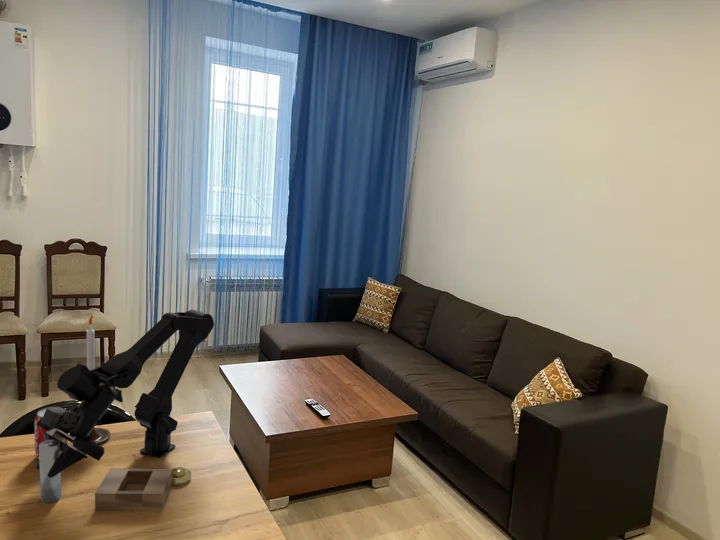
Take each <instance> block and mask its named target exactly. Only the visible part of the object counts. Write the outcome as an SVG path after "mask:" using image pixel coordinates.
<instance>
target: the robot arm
mask: <svg viewBox="0 0 720 540" xmlns="http://www.w3.org/2000/svg"><path fill="white" fill-rule="evenodd" d="M214 327H215V322H214V317H213V316H212V314H209V313H205V312H203V311H199V310H196V309H189V310H187V311H185V312H182V311H177V312H165V313H164V314H163V315H162V316H161V319H159V321H157V323H155V324H154V325H153V326H152V327H151V328H150V329H149V330H148V331H147V332H145V334H144V335H142V337H141V338H140V339H139V340H137V341H136V342H135V343H134V344H133V345H132V346H131V347H130V348H128V349H127V350H125V351H122V352H120V353H117V354H115V355H114V356H112V357H111V358H109V359H108V360H107V361H106V362H104V364H103V365H100V366H98V367H95V369H93V370H89V369H88V367H87V365H85V364H83V363H80V362H78V363H77V364H76V365H75V366H73V367H71V368H68V369H67V370H66V371H64V372H62V373H61V374H60V376H59V378H58V380H57V385H56V386H57V388H58V390H59V391H61V392H63V393H65V394H66V395H69V396H71V397H73V398H74V399H76V400H75V401H78V402H80V403H79V404H78V405H77V406H76V405H72V406H70V407H69V409H68V410H66V409H63V408H62V409H63V410H62V409H53V408H48V407H46V408H47V409H46V411H45V414H44V416H43V417H42V418H41V419H40V420H39V421H38V423H37V424H36V425H37V426H39V427H41V428H43V429H45V430H47V432H44V431H43V434H44V436H45V441H46V440H51V439H56V440H59V441H60V453H61V452H62V453H61V454H60V456H59V457H58V459H57V460H56V462H55V463H54V465H53V466H52V468H51V469H50V471H49V473H48V475H47V476H48V477H50V478H52V477H54V476H55V475H57V474H58V473H60V472H61V473H62V472H63V471H64V470H65V471H66V469H68V468H69V467H70V466H72V465H75V464H77V463H78V462H80V461H82V460H83V459H88V458H89V457H91V458H92V459H95V460H97V461H98V462H99V461H100V460H101V459H102V457H103V456H104V454H105V447H104V446H102V445H98V444H97V443H95V442H93V441H91V440H90V439H91V438H90V437H88V435H89V434H90V432H91V431H92V429H93V428H94V427H95V428H96V426H97V425H98V426H101V425H102V424H103V420H101V419H102V417H103V416H104V415H105V413H106V412H107V410H108V409H109V408H110V406H111V405H112V404H113V402H114V401H116V402H119V403H122V402H123V401H124V400H123V394H122V392H123V391H122V390H121V389H127V388H129V387H130V386H132V385H133V384H134V383H135V381H136V380H137V378H138V377H139V376H140V374H142V373H141V372H142V370H143V366H144V364H145V363H146V362H147V361H148V360H149V359H150V357H152V356H153V355H154V354H155V353H156V352H157V351H158V350H159V349H160V348H161V347H162V346H163V345H164V344H165V343H166V342H167V341H168V340H169V339H170V338H171V337H172V336H173V335H174V334H175V333H176V332H177V331H178V341H177V342H176V345H175V346H174V348H173V350H172V352H171V354H170V355H169V356H170V357H169V358H168V360H167V362H166V364H165V366H164V368H163V370H162V372H161V374H160V376H159V378H158V380H157V382H156V383H155V384H156V385H155V386H154V387H153V389H152V390H151V391H149V392H148V393H146V392H143V393H141V395H140V397H139V400H138V402H137V404H135V406H134V408H135V410H134V414H133V415H134V417H135V420H136V422H138V423H139V425H140V427H143V428H145V429H146V430H145V432H144V447H143V448H140V450H139V452H140V453H142V454H144V455H145V454H146V455H149V456H153V457H156V458H162V457H163V456H165V455H166V454H168V453H169V452H171V450H173V449H175V448H176V444H173V443H171V442H172V441H171V435H172V433H173V432H174V431H176V430H177V426H178V424H179V422H178V421H177V420H176V419H175V418H174V417H172V416H171V413H172V410H173V395H174V393H175V390H176V389H177V387H178V385H179V382H180V381H181V378H182V376H183V374H184V372H185V370H186V368H187V366H188V364H189V362H190V360H191V358H192V356H193V354H194V352H195V350H196V348H197V347H198V346H199V345H200V344H201V343H203V342H204V341H205V340H206V339H207V338H208V337H209V335H210V333H211V332H212V331H213V328H214ZM100 383H103V384H105V385H101V386H100ZM110 387H114V389H112V388H110ZM115 387H116V388H115ZM69 396H68V397H69ZM74 399H73V400H74ZM74 437H76V438H74ZM64 438H65V439H66V440H67V442H70V444H68V443H67V444H65V443H64V442H63V441H64ZM36 469H37V470H38V471H40V465H39V462H38V463H37V466H36Z"/></svg>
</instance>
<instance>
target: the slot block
mask: <svg viewBox="0 0 720 540" xmlns="http://www.w3.org/2000/svg"><path fill="white" fill-rule="evenodd" d="M173 469H174V468H110V469H109V470H108V472H107V474H106V475H105V477H104V478H103V480H102V481H101V483H100V485H99V486H98V488H97V489H96V491H95V493H94V510H95V511H163V509H164V507H165V503H166V501H167V499H168V497H169V494H170V491H171V489H172V487H173V486H172V470H173Z"/></svg>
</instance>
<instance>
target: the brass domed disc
mask: <svg viewBox="0 0 720 540" xmlns="http://www.w3.org/2000/svg"><path fill="white" fill-rule="evenodd" d="M172 469H173V470H172V486H171V487H179V486H183V485H186V484H188V483H190V481H191V480H192V471H191V470H190V469H188V468H186V467H181V466H177V467H174V468H172Z"/></svg>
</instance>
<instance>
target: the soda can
mask: <svg viewBox="0 0 720 540" xmlns="http://www.w3.org/2000/svg"><path fill="white" fill-rule="evenodd" d="M47 408H53V409H62V410H64V409H63V408H62V407H60V406H49V407H48V406H47V407H45V408H42V409H40V410H39V411H37V413H36V417H35V418H34V427H33V429H34V451H35V457H36V459H38V460H39V444H40V443H41V442H43V441H45V436H44V434H43V431H44V432H47V430H45V429H43V428H41V427H39V426H37V425H36V424H37V423H38V421H39V420H40V419H41V418H42V417H43V416H44V414H45V411H46V409H47ZM63 442H64V443H65V444H67V445H68V440H66V439H65V438H64V441H63ZM61 453H62V452H61ZM61 453H60V454H61Z"/></svg>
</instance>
